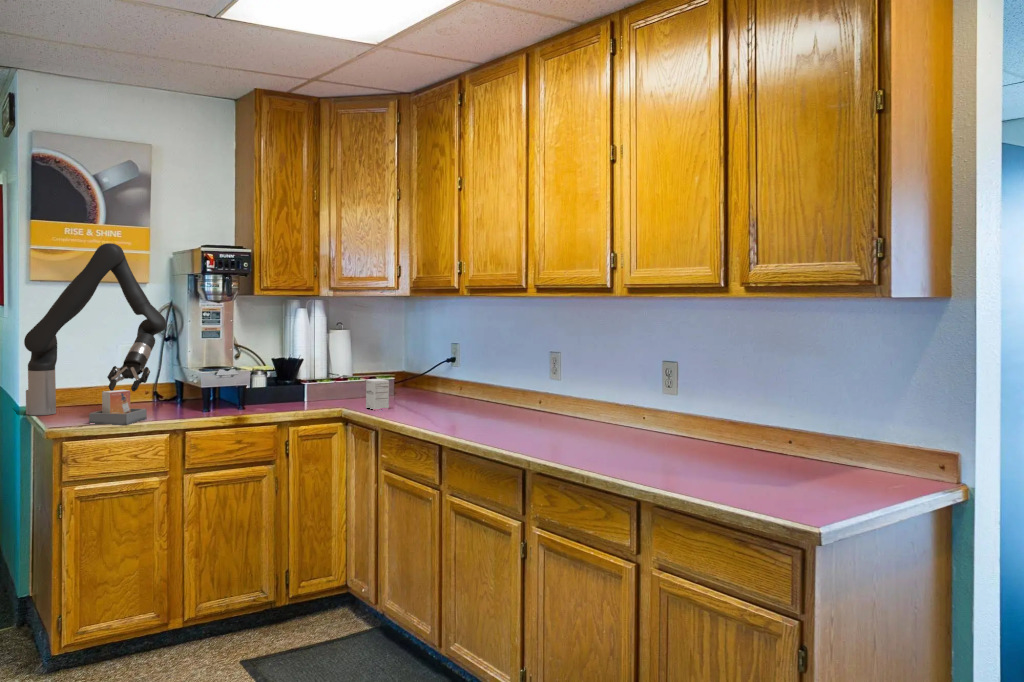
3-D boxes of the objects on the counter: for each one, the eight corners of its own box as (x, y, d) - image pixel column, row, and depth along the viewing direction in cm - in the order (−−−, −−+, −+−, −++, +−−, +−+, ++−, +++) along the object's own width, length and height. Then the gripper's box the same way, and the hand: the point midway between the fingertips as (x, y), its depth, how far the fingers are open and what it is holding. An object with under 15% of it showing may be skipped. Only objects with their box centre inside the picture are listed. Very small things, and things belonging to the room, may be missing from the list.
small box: (109, 421, 293) (109, 392, 292) (101, 419, 296) (101, 391, 296) (131, 418, 299) (130, 390, 299) (123, 417, 303) (122, 389, 302)
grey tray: (89, 424, 291) (89, 413, 291) (110, 418, 305) (110, 407, 305) (126, 425, 291) (126, 414, 290) (146, 419, 304) (146, 408, 304)
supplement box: (365, 408, 341) (365, 379, 340) (381, 407, 346) (381, 378, 345) (373, 411, 335) (373, 380, 335) (389, 409, 340) (389, 380, 339)
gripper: (116, 350, 308) (99, 383, 298) (152, 351, 307) (136, 384, 297) (123, 362, 314) (107, 395, 303) (159, 363, 313) (144, 396, 302)
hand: (121, 389), depth 300 cm, fingers open, 8 cm apart
